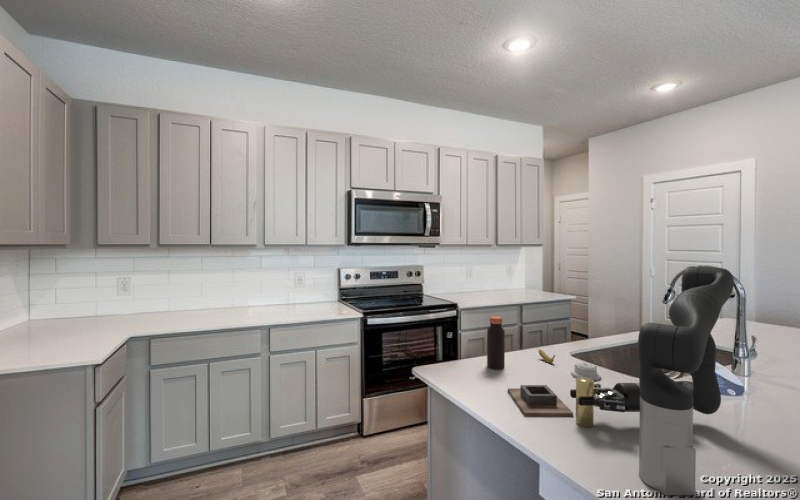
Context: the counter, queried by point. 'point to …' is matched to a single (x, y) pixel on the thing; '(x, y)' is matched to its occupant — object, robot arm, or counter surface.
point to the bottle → (495, 344)
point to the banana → (546, 356)
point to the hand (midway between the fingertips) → (575, 397)
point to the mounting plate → (539, 401)
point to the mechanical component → (585, 371)
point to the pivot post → (584, 412)
